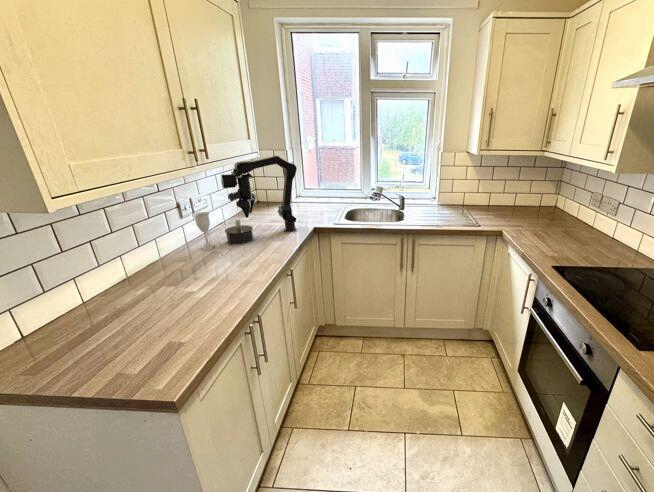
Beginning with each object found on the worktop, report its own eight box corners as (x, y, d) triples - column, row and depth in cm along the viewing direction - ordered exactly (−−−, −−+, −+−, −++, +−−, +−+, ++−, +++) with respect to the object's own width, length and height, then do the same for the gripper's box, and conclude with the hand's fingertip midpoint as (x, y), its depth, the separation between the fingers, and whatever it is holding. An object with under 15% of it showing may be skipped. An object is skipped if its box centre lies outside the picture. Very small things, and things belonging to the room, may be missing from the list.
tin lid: (229, 227, 173) (227, 217, 171) (255, 226, 176) (253, 216, 174) (222, 235, 161) (220, 224, 159) (250, 234, 164) (248, 223, 161)
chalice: (209, 251, 157) (201, 216, 150) (197, 250, 158) (189, 215, 151) (219, 246, 164) (212, 212, 157) (207, 244, 165) (200, 211, 158)
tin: (231, 237, 175) (229, 226, 173) (255, 236, 178) (253, 225, 175) (225, 246, 164) (223, 234, 161) (251, 244, 166) (249, 233, 164)
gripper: (232, 183, 172) (237, 211, 178) (223, 190, 155) (228, 220, 161) (253, 183, 174) (257, 210, 180) (247, 189, 157) (251, 219, 163)
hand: (248, 215), depth 171 cm, fingers open, 9 cm apart
